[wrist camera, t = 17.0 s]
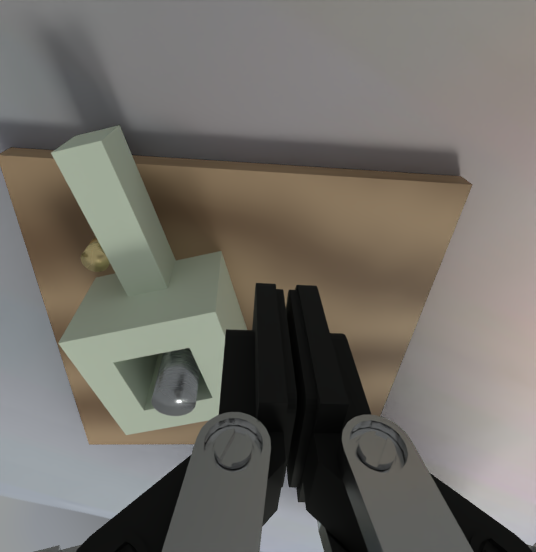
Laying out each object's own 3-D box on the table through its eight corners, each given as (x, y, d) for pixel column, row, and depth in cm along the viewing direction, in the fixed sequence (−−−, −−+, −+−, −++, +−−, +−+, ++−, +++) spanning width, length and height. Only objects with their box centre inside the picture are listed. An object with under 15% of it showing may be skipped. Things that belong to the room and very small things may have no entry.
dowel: (124, 245, 19) (110, 272, 17) (100, 244, 19) (83, 271, 17) (121, 224, 19) (106, 249, 17) (96, 223, 19) (78, 248, 16)
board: (365, 430, 32) (368, 443, 31) (94, 430, 30) (89, 444, 29) (460, 176, 19) (472, 184, 18) (10, 147, 17) (-4, 155, 16)
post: (206, 330, 23) (196, 416, 18) (173, 329, 23) (153, 416, 18) (206, 304, 22) (195, 388, 17) (171, 303, 22) (149, 388, 17)
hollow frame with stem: (251, 344, 24) (253, 412, 20) (146, 364, 24) (126, 435, 20) (175, 111, 16) (151, 143, 12) (21, 148, 16) (-54, 192, 12)
